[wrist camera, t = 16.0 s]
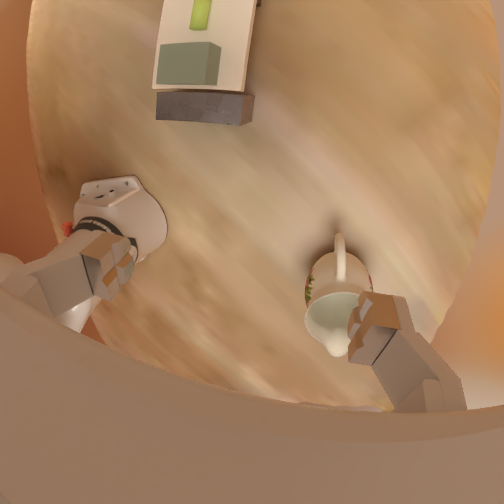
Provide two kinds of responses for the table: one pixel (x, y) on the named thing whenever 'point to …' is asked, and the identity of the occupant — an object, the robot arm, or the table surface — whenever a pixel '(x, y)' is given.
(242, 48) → the plate
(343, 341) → the pitcher
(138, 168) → the table surface
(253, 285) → the table surface
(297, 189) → the table surface
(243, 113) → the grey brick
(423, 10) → the table surface
